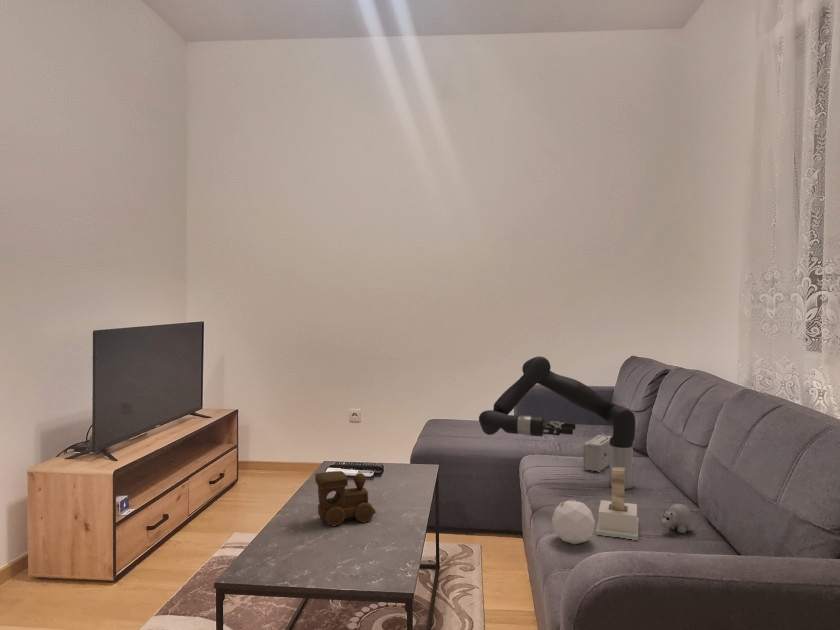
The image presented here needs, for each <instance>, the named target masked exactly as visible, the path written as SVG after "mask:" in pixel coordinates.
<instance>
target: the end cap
mask: <svg viewBox="0 0 840 630" xmlns="http://www.w3.org/2000/svg"><path fill="white" fill-rule="evenodd" d="M595 532H596V533H595V536H598V535H603V536H602V537H605V536H612V537H611V538H613V537H620V538H626V539H625V540H627V539H632V540H631V541H634V540H637V541H636V542H639V517H638V504H637V503H627V502H624V512H623V511H615V510H612V500H611V501H610V500H604V499H601V500H600V504H599V508H598V521H597V525H596V530H595ZM620 538H619V539H620Z"/></svg>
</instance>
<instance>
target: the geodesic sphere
mask: <svg viewBox="0 0 840 630" xmlns="http://www.w3.org/2000/svg"><path fill="white" fill-rule="evenodd" d="M553 511H554V512H553V514H552V519H551V522H552V523H551V524H552V525H553V529H554V531H555V534H557V536H558V537H559V538H560V539H561V541H563V542H566V543H568V544H572V545H577V544H581V543H585V542H587V541H588V540H589V539H590V537H591V536H592V535H593V534H594V528H595V524H596V522H595V518H594V515H593V512H592V510H591V509H590V508H589V507H588V506H587V505H586V504H585V503H583V502H581V501H578V500H575V499H571V498H569V500H565V501H562V502H560V503H559V504H558V506H557V507H556V508H555V509H554V510H553Z"/></svg>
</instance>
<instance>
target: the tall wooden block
mask: <svg viewBox="0 0 840 630" xmlns="http://www.w3.org/2000/svg"><path fill="white" fill-rule="evenodd" d="M625 490H626V489H625V468H620V467H612V487H611V501H612V510H615V511H623V512H624V503H625V500H626V499H625V497H626V496H625V495H626V493H625Z"/></svg>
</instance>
